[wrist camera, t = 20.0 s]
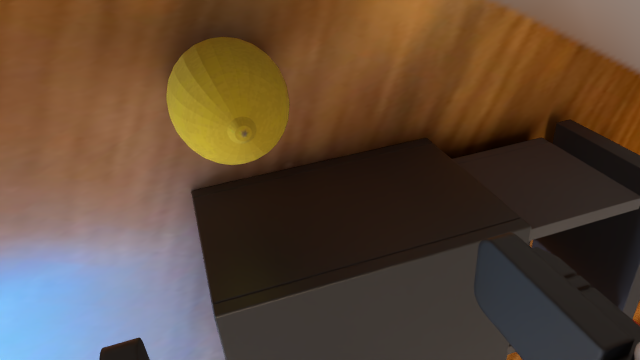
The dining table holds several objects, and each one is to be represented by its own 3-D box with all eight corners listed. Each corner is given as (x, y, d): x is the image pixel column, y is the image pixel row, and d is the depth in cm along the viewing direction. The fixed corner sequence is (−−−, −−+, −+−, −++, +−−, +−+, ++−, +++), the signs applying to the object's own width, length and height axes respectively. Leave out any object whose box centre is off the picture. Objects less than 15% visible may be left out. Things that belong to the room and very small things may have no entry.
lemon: (254, 128, 28) (290, 199, 22) (155, 112, 26) (161, 186, 20) (278, 35, 26) (326, 82, 20) (172, 8, 24) (185, 51, 17)
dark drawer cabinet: (426, 137, 33) (532, 226, 24) (420, 278, 39) (501, 387, 30) (190, 190, 29) (214, 317, 20) (227, 335, 36) (256, 477, 27)
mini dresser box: (620, 107, 36) (744, 161, 28) (587, 231, 42) (682, 302, 34) (382, 163, 31) (455, 243, 24) (383, 292, 37) (442, 388, 30)
